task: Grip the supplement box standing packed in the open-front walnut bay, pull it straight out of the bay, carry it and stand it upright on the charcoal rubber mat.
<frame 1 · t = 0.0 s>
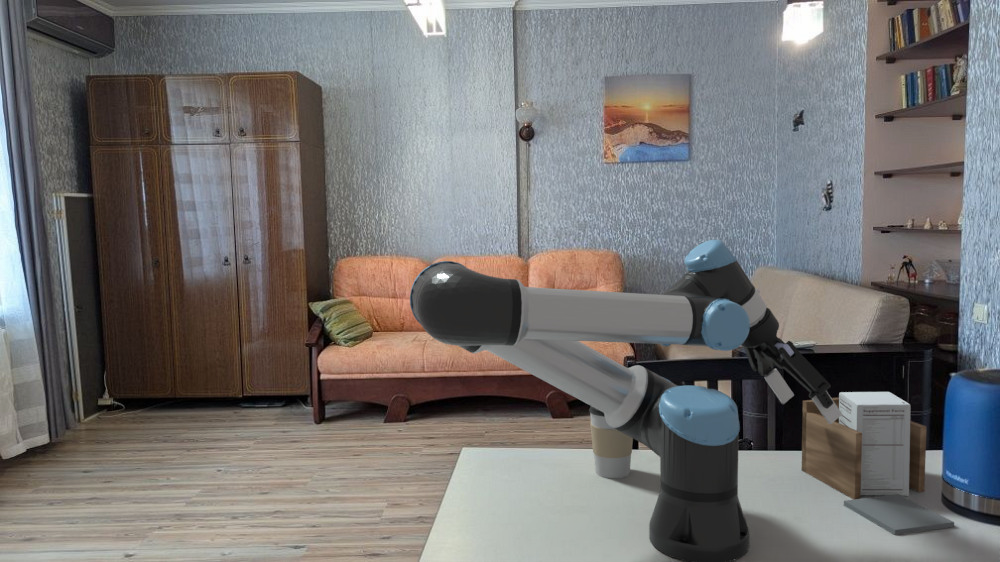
hand: (810, 408, 132), 15 cm above the table, tool tilted 35°, fingers open, 13 cm apart
walnut bay: (862, 481, 137), on the table
supplement box: (871, 487, 134), on the table
coffee cup: (612, 473, 145), on the table
rubber mat: (896, 515, 122), on the table
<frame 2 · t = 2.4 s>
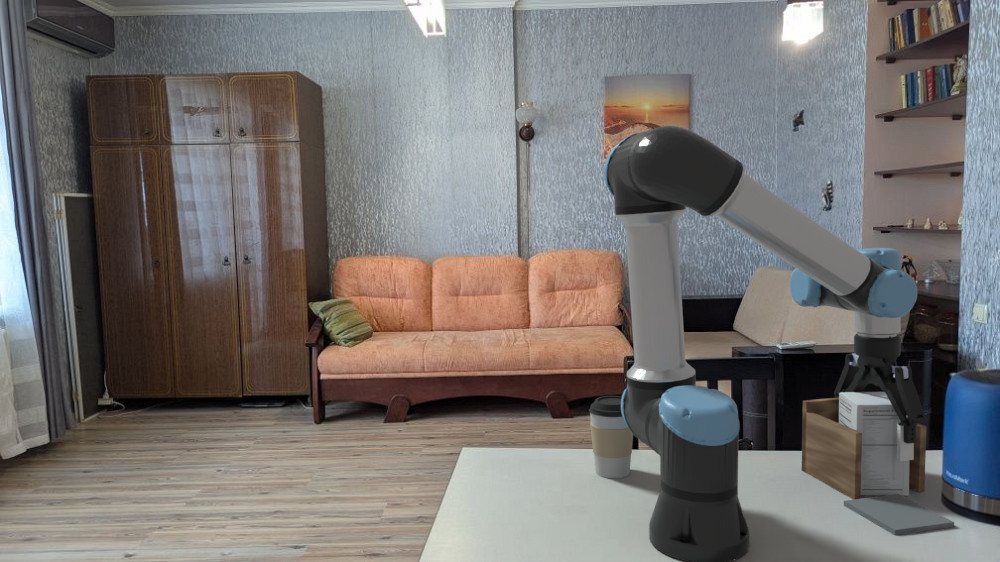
hand: (876, 448, 134), 7 cm above the table, tool pointing down, fingers open, 13 cm apart
nothing on the table moved.
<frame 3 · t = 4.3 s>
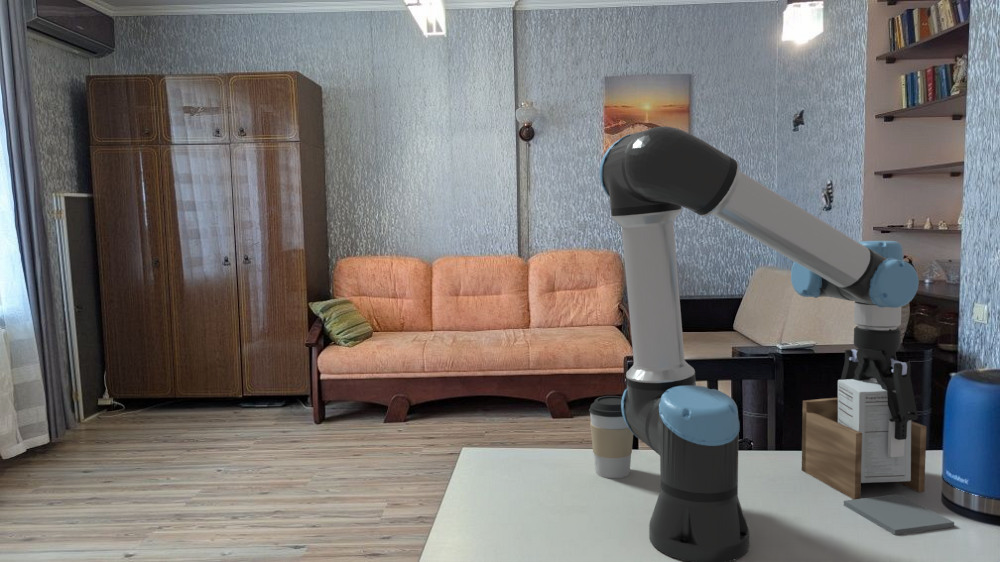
hand: (873, 446, 133), 8 cm above the table, tool pointing down, fingers closed on supplement box, 10 cm apart
supplement box: (872, 474, 134), point 2 cm above the table, touching gripper
everything else where it was.
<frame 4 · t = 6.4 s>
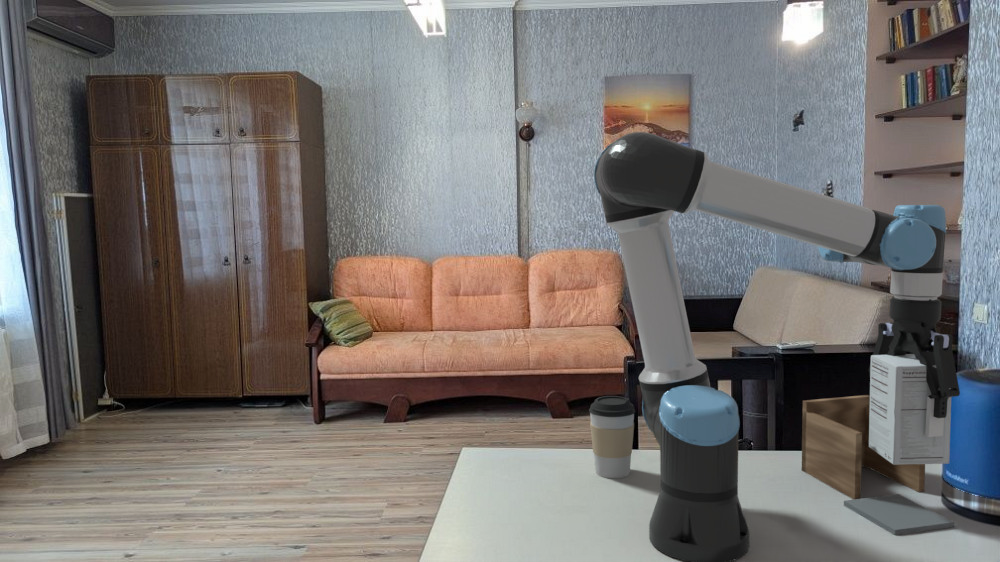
hand: (908, 426, 124), 14 cm above the table, tool pointing down, fingers closed on supplement box, 10 cm apart
supplement box: (907, 456, 125), point 9 cm above the table, touching gripper
everything else where it was.
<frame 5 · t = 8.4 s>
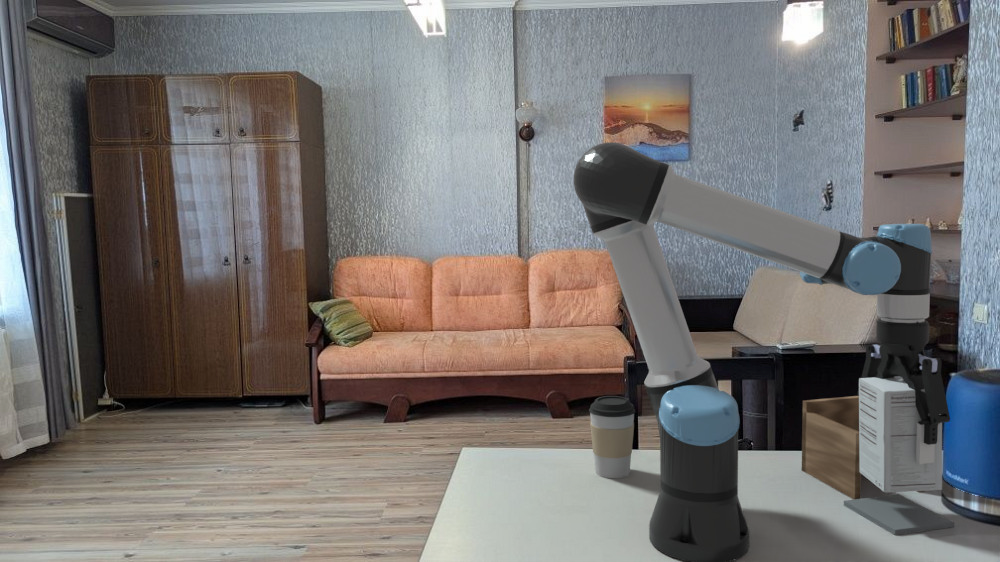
hand: (899, 451, 121), 11 cm above the table, tool pointing down, fingers closed on supplement box, 10 cm apart
supplement box: (898, 482, 121), point 6 cm above the table, touching gripper
everything else where it was.
when the fingers open (7 cm above the table, at t = 9.7 s): supplement box moves 1 cm, resting on rubber mat.
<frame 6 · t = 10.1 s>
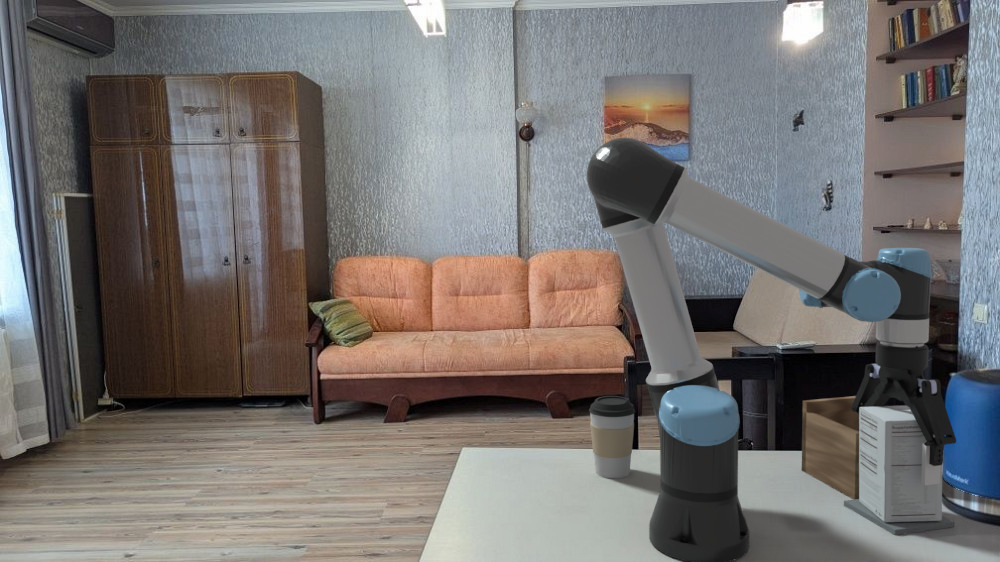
hand: (898, 469, 121), 8 cm above the table, tool pointing down, fingers open, 13 cm apart
supplement box: (898, 512, 121), point 1 cm above the table, touching rubber mat
everything else where it was.
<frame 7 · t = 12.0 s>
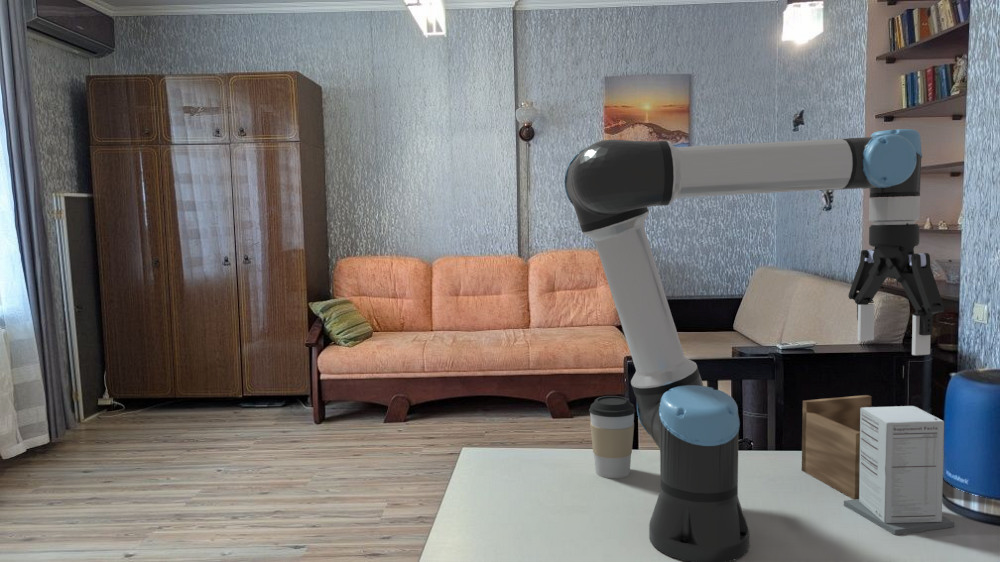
hand: (891, 347, 125), 27 cm above the table, tool pointing down, fingers open, 13 cm apart
nothing on the table moved.
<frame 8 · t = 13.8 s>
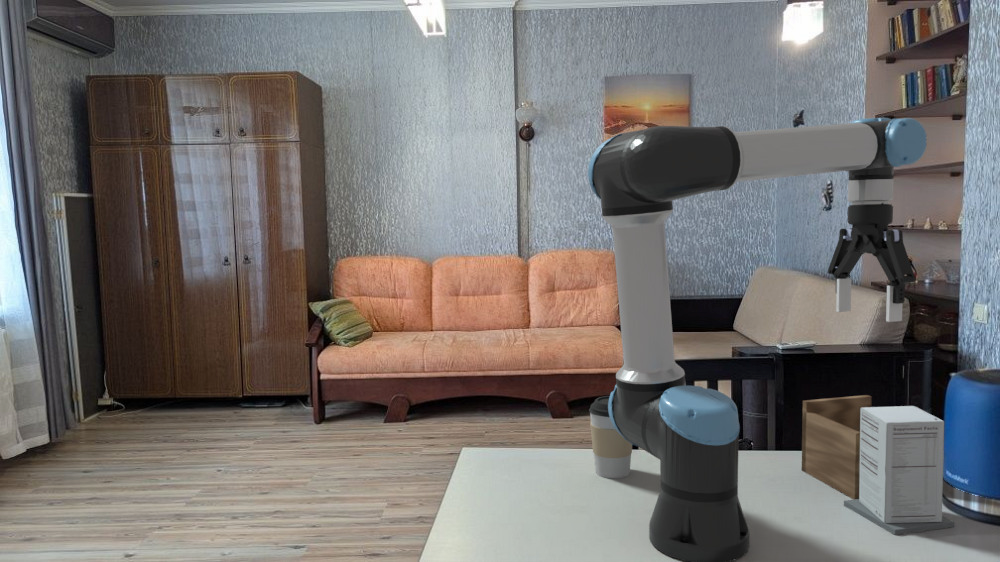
hand: (867, 316, 138), 31 cm above the table, tool pointing down, fingers open, 13 cm apart
nothing on the table moved.
at the end: supplement box 0.3 cm from the rubber mat (horizontally); supplement box tilted 0°; the gripper is holding nothing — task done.
